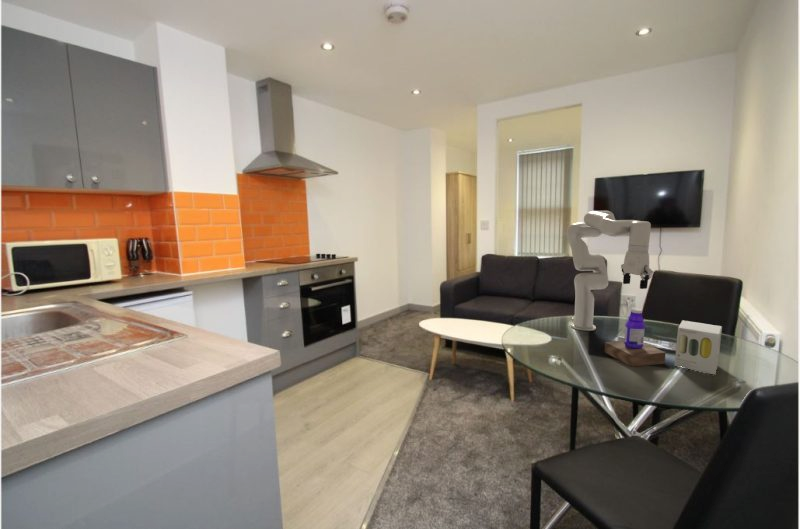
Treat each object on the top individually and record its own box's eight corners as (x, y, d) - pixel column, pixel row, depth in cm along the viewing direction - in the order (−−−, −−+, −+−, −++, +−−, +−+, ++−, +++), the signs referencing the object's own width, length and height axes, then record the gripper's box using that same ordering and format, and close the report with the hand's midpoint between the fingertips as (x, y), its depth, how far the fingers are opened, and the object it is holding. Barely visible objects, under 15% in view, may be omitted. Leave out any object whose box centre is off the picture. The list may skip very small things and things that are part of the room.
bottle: (638, 344, 160) (641, 307, 158) (645, 349, 154) (648, 311, 152) (621, 344, 161) (624, 307, 158) (628, 349, 155) (631, 311, 153)
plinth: (604, 352, 165) (605, 342, 164) (634, 349, 167) (635, 339, 166) (631, 366, 149) (632, 355, 148) (664, 363, 151) (665, 352, 151)
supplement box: (673, 366, 148) (677, 326, 146) (678, 357, 157) (681, 319, 155) (715, 376, 139) (720, 334, 136) (718, 365, 148) (722, 325, 145)
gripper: (616, 247, 165) (613, 282, 168) (646, 251, 148) (642, 291, 151) (630, 246, 166) (627, 281, 169) (662, 251, 149) (658, 290, 152)
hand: (634, 286), depth 160 cm, fingers open, 9 cm apart
